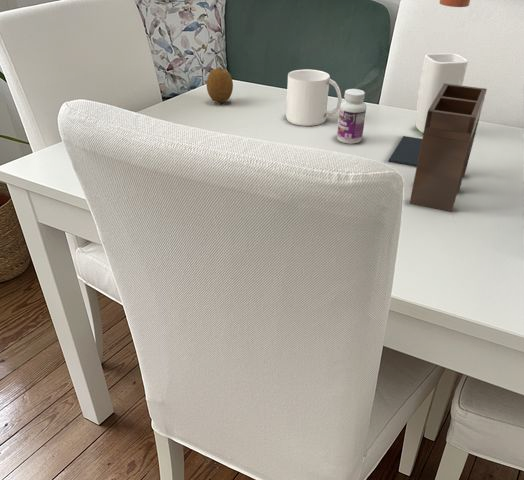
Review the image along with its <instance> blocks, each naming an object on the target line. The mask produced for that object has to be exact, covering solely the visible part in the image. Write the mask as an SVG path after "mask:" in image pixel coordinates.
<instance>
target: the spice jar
mask: <svg viewBox="0 0 524 480" xmlns="http://www.w3.org/2000/svg"><path fill="white" fill-rule="evenodd" d="M470 3H471V0H439V4H440V5H442V6H445V7H451V8H468V7H469V6H470Z"/></svg>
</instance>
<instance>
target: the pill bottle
mask: <svg viewBox="0 0 524 480" xmlns="http://www.w3.org/2000/svg"><path fill="white" fill-rule="evenodd" d="M365 97H366V91H364V90H363V89H358V88H348V89H346V90H345V91H344V100H342V103H341V105H340V109H339V111H338V122H337V133H336V138H337V140H338V141H339V142H341V143H343V144H348V145H352V144H358V143H360V142H362V140H363V135H364V127H365V120H366V114H367V113H366V112H367V104H366V103H365V102H364V101H365Z"/></svg>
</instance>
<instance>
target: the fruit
mask: <svg viewBox="0 0 524 480" xmlns="http://www.w3.org/2000/svg"><path fill="white" fill-rule="evenodd" d="M231 75H232V74H231V73H230V72H229V71H228V70H227V69H225V68H222V67H221V66H218V67H216V68H214V69H211V71H210V72H209V73H208V75H207V79H206V90H207V93H208V96H209V98H210V99H211V100H212V101H213V102H215V103H216V104H219V105H221V104H224V103H225V102H227V101H228V100H230V98H231V96H232V93H233V90H234V89H233V88H234V81H233V78H232V76H231Z"/></svg>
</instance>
